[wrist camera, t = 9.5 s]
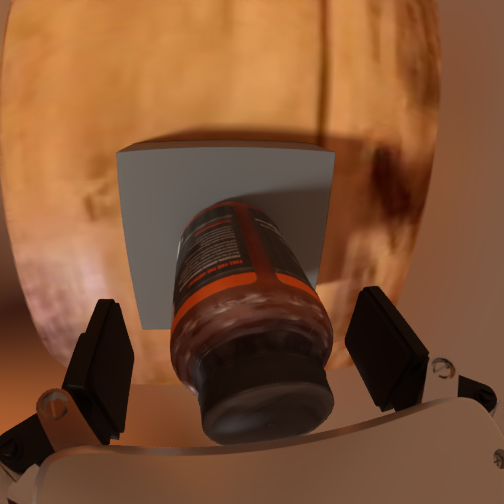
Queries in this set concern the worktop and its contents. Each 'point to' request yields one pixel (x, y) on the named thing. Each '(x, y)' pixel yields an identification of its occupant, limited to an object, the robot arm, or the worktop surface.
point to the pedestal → (213, 192)
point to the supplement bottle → (248, 329)
